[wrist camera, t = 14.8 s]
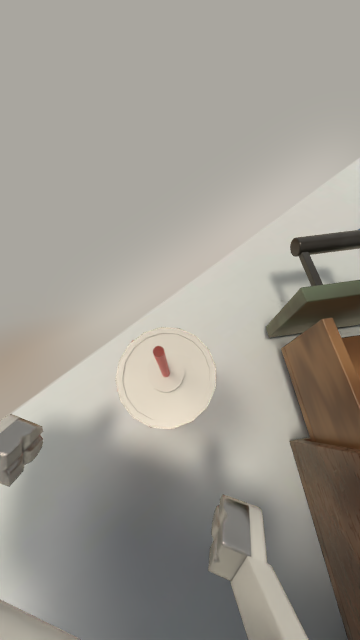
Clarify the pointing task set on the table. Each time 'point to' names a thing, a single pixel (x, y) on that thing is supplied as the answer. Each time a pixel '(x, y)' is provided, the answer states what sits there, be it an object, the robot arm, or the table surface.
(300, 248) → the drawer
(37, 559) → the table surface
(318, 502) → the cabinet
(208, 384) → the beverage cup
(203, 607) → the table surface
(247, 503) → the robot arm
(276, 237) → the table surface
